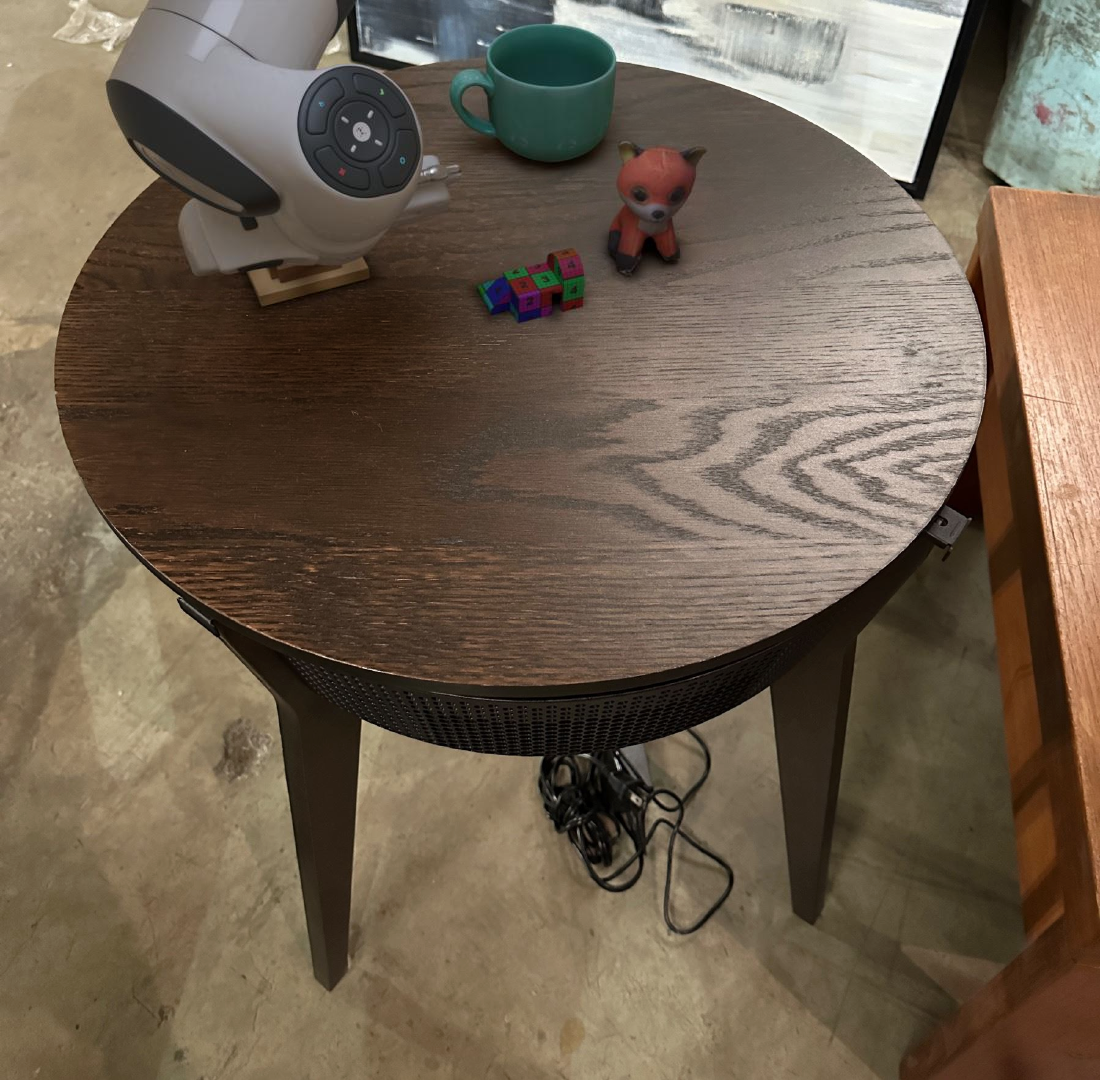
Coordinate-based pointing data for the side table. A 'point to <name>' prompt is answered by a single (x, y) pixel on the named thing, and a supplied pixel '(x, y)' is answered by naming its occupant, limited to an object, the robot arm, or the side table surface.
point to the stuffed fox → (650, 200)
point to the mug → (543, 91)
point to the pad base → (303, 279)
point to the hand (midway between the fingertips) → (309, 235)
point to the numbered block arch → (537, 287)
